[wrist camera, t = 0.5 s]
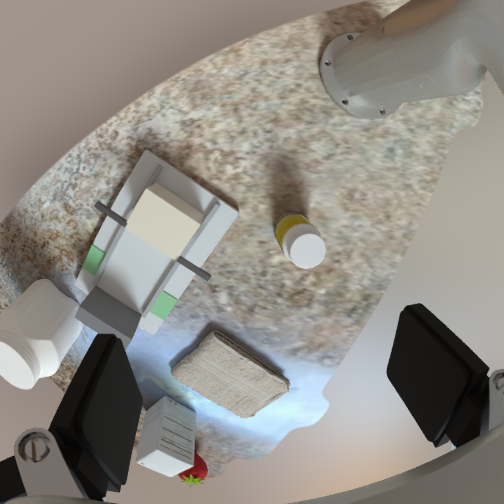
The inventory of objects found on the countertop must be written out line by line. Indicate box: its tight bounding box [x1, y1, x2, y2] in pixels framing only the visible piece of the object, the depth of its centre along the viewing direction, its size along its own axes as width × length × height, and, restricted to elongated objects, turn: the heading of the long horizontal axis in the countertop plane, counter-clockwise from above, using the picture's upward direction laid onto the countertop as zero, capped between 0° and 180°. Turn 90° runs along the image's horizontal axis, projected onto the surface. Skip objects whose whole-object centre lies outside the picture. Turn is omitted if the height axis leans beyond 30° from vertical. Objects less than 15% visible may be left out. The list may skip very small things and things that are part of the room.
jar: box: [0, 279, 83, 389], centre depth 33 cm, size 12×10×15 cm
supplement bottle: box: [274, 212, 326, 269], centre depth 35 cm, size 5×5×8 cm
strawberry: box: [179, 452, 208, 484], centre depth 50 cm, size 6×8×10 cm
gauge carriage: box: [94, 183, 211, 281], centre depth 33 cm, size 5×15×5 cm, turn 53°
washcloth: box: [171, 330, 290, 418], centre depth 46 cm, size 12×18×3 cm, turn 47°
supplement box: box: [136, 396, 196, 477], centre depth 43 cm, size 7×7×13 cm
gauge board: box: [75, 150, 239, 350], centre depth 35 cm, size 22×14×7 cm, turn 144°
